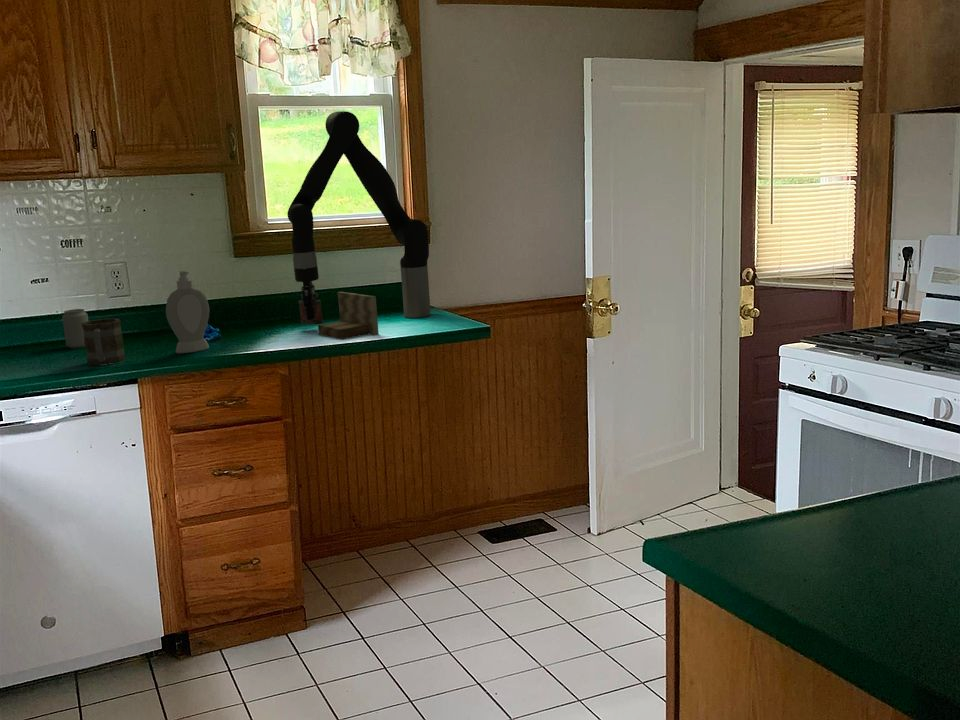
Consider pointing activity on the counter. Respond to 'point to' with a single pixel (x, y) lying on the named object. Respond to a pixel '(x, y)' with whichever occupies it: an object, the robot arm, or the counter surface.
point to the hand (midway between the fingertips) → (311, 317)
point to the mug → (103, 341)
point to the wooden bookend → (353, 317)
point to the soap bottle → (188, 315)
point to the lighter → (316, 311)
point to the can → (74, 327)
